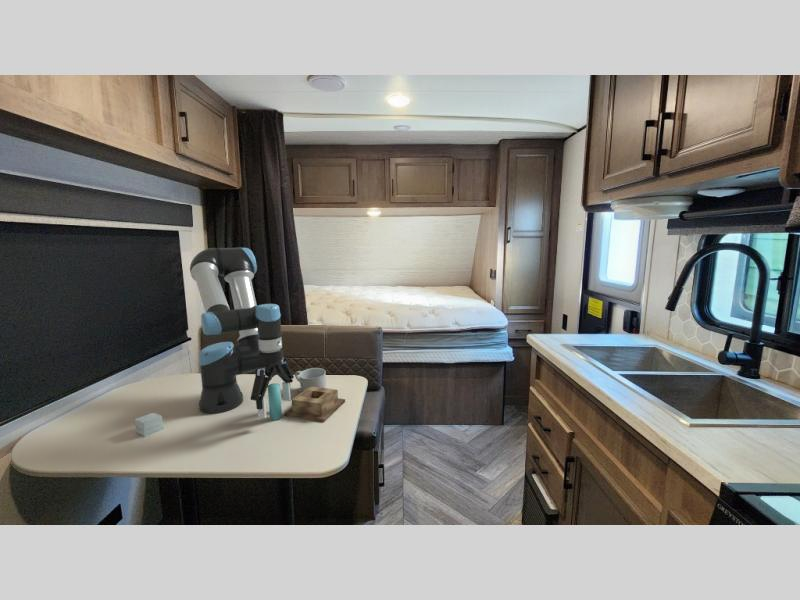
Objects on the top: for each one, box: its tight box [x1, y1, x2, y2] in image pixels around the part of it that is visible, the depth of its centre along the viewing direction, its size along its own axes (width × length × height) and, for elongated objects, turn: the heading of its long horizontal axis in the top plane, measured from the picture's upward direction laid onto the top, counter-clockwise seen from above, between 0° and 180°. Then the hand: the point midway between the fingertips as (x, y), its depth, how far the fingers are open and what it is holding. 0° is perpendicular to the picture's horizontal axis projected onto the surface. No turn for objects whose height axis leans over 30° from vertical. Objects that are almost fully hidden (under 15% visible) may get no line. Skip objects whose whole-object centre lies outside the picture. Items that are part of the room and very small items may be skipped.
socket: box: [283, 386, 346, 423], centre depth 126 cm, size 16×16×6 cm
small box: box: [134, 412, 164, 438], centre depth 112 cm, size 6×6×5 cm
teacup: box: [294, 367, 327, 392], centre depth 142 cm, size 14×11×8 cm
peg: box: [267, 382, 283, 422], centre depth 119 cm, size 4×4×12 cm
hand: (275, 408), depth 120 cm, fingers open, 13 cm apart
